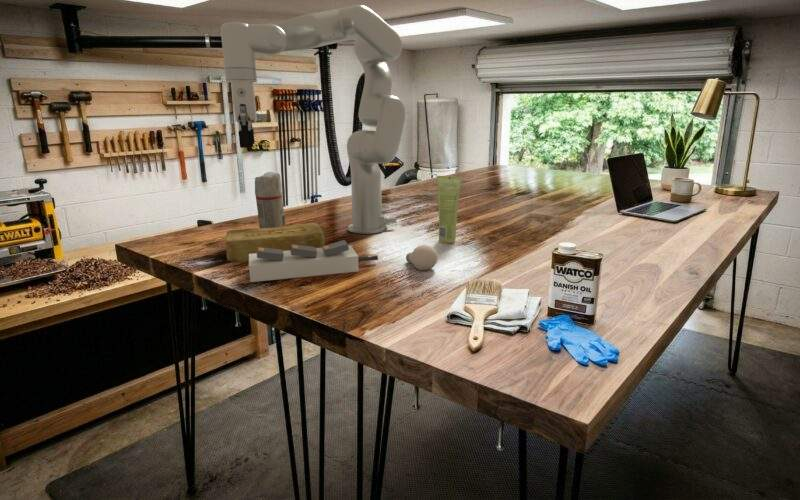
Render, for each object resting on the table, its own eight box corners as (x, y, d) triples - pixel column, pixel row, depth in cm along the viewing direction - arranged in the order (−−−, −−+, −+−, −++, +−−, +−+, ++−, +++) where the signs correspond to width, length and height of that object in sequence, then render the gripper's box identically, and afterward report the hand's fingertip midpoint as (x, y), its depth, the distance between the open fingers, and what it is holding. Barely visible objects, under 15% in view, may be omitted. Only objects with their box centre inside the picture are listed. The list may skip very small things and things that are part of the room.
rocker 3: (346, 245, 129) (344, 239, 129) (349, 249, 126) (347, 243, 125) (323, 252, 128) (321, 246, 128) (325, 256, 125) (323, 250, 124)
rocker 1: (281, 255, 125) (282, 249, 125) (282, 260, 122) (283, 254, 121) (256, 253, 124) (257, 246, 123) (256, 258, 120) (257, 251, 120)
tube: (451, 237, 155) (453, 174, 150) (460, 241, 151) (462, 176, 145) (435, 240, 153) (436, 175, 147) (444, 244, 149) (445, 178, 143)
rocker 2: (314, 253, 128) (315, 246, 127) (316, 257, 124) (317, 251, 124) (290, 250, 126) (291, 243, 125) (291, 254, 122) (292, 248, 122)
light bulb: (398, 244, 132) (420, 243, 122) (419, 246, 135) (443, 244, 126) (397, 270, 132) (419, 270, 122) (419, 270, 135) (442, 271, 125)
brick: (227, 254, 146) (224, 230, 144) (318, 244, 154) (317, 221, 152) (227, 265, 133) (223, 239, 132) (326, 253, 141) (324, 229, 139)
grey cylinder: (280, 241, 154) (274, 175, 148) (255, 239, 155) (248, 174, 149) (291, 233, 161) (286, 171, 156) (267, 232, 163) (261, 170, 157)
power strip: (373, 257, 137) (372, 242, 136) (382, 269, 128) (381, 253, 127) (250, 268, 129) (248, 253, 128) (250, 282, 120) (248, 265, 118)
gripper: (255, 75, 120) (261, 148, 125) (257, 77, 136) (263, 142, 141) (222, 75, 118) (230, 149, 123) (228, 77, 135) (235, 143, 140)
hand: (247, 145), depth 132 cm, fingers open, 9 cm apart
